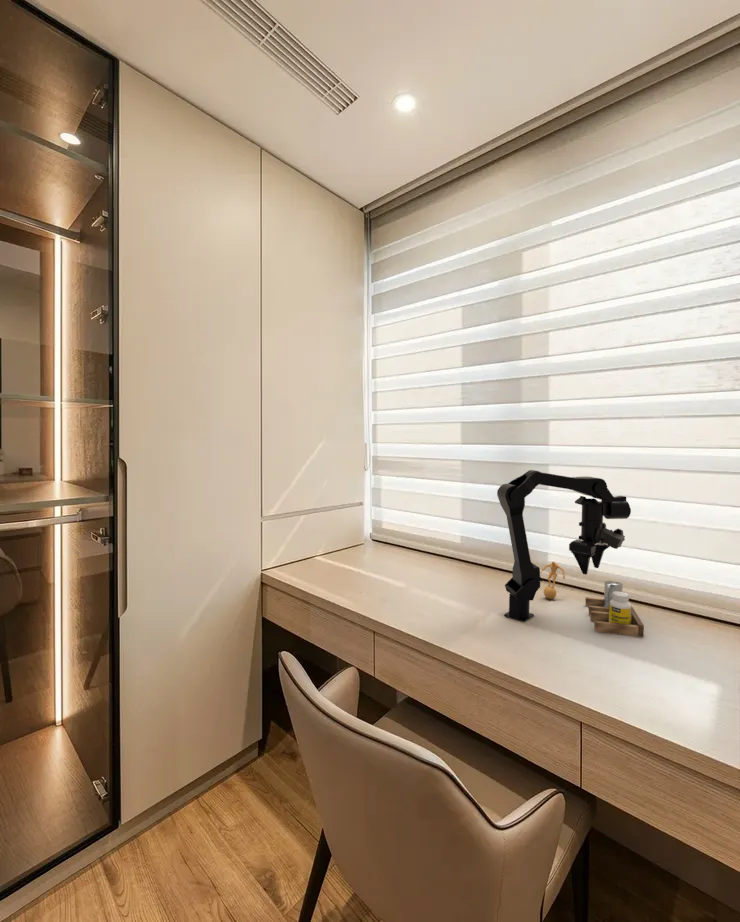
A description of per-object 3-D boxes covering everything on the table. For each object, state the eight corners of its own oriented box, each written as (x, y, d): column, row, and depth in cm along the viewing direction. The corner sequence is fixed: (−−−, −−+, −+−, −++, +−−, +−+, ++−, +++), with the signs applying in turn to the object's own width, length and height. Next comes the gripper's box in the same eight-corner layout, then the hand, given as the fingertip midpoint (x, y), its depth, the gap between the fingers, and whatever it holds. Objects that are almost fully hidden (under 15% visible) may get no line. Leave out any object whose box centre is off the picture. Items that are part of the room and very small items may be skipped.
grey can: (618, 617, 137) (619, 587, 137) (601, 612, 141) (602, 583, 140) (623, 612, 141) (624, 583, 140) (607, 608, 144) (607, 579, 144)
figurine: (535, 596, 154) (535, 561, 154) (543, 592, 159) (544, 557, 158) (559, 603, 148) (560, 566, 148) (567, 599, 152) (568, 562, 152)
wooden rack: (595, 631, 127) (595, 619, 127) (585, 604, 147) (585, 594, 147) (643, 637, 124) (643, 625, 124) (626, 609, 144) (627, 598, 143)
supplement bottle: (608, 629, 128) (609, 594, 128) (609, 622, 133) (609, 589, 133) (630, 633, 126) (631, 598, 125) (630, 626, 130) (631, 592, 130)
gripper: (610, 527, 126) (608, 584, 127) (631, 518, 139) (630, 570, 140) (568, 522, 134) (567, 575, 135) (592, 514, 147) (591, 562, 148)
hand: (590, 570), depth 139 cm, fingers open, 9 cm apart
